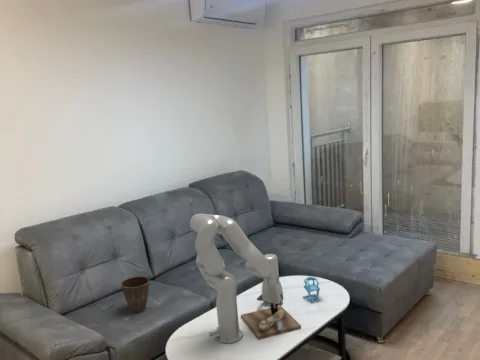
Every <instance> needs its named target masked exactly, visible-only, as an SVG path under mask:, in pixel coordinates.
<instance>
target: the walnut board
mask: <svg viewBox="0 0 480 360" xmlns="http://www.w3.org/2000/svg"><path fill="white" fill-rule="evenodd" d="M277 308H278V311H279V310H280V309H281V310H285V311H286V316H284V317H283V318H282V319H280V320H281V321H282V330H279V331H278V330H277V324H276V323H275V324H273V325H272V326H271V327H269V329H268V330H267V331H261V330H260V329H259V323H260V322H261V321H263V320H266V319H267V318H269V317H270V316H272V314H271V307H269V308H263V309H260V310H256V311H250V312H247V313H241V314H240V318H241V320H242V319H243V320H242V321H243V322H244V324H245V325H246V326H247V328H248V329H249V330H250V331H251V332H252V334H253V335H254V337H255V338H256V339H257V340H262V339H266V338H270V337H274V336H277V335H281V334H282V335H283V334H285V333H290V332H293V331H296V330H301V329H302V325H301V324H300V323H299V322H298V321H297V320H296V319H295V318H294V316H292V314H290V313H289V312H288V311H287V310H286V309H285V307H283V305H278V306H277Z"/></svg>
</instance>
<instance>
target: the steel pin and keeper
mask: <svg viewBox="0 0 480 360" xmlns="http://www.w3.org/2000/svg"><path fill="white" fill-rule="evenodd" d="M272 317H273V319H274V320H275V321H276V324H277V330H278V331H279V330H282V321H281V320H280V319H279V318H278V316H277V315H275V316H272ZM261 324H266V321H265V320H263V321H261Z"/></svg>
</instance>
